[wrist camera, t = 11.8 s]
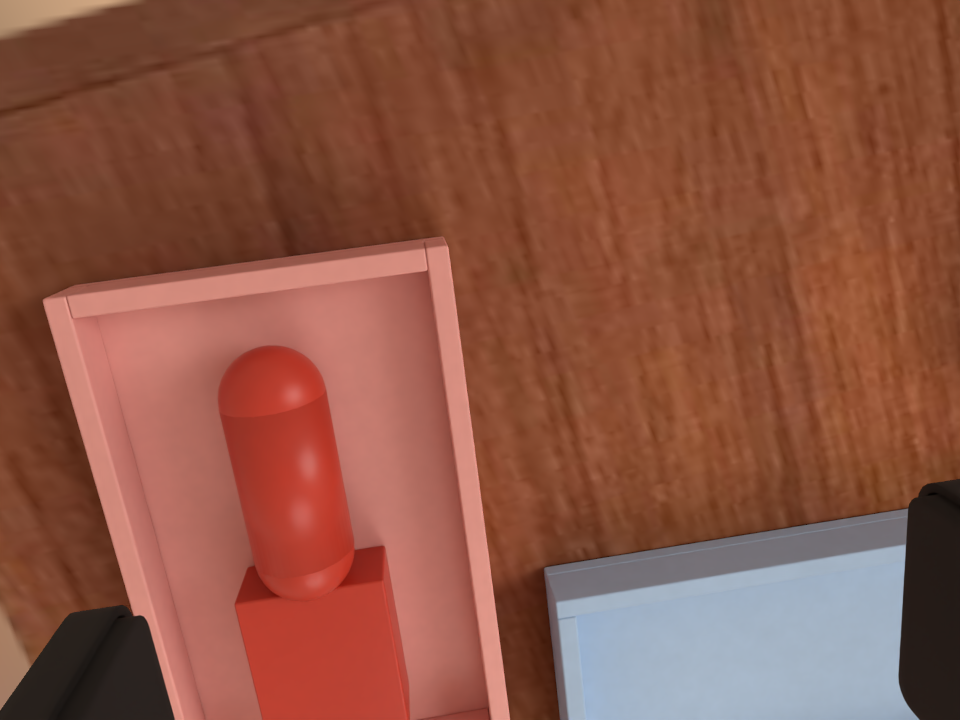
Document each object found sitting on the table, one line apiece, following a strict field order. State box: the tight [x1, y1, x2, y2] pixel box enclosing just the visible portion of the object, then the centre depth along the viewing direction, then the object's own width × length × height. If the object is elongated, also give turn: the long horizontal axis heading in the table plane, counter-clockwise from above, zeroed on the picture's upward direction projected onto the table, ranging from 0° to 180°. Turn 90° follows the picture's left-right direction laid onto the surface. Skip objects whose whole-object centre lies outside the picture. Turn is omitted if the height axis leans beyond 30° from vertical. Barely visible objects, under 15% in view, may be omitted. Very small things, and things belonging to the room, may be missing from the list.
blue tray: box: [544, 509, 919, 720], centre depth 26 cm, size 10×16×2 cm, turn 97°
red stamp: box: [217, 345, 410, 720], centre depth 22 cm, size 12×4×3 cm, turn 7°
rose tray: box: [43, 236, 510, 720], centre depth 22 cm, size 10×16×2 cm, turn 7°
